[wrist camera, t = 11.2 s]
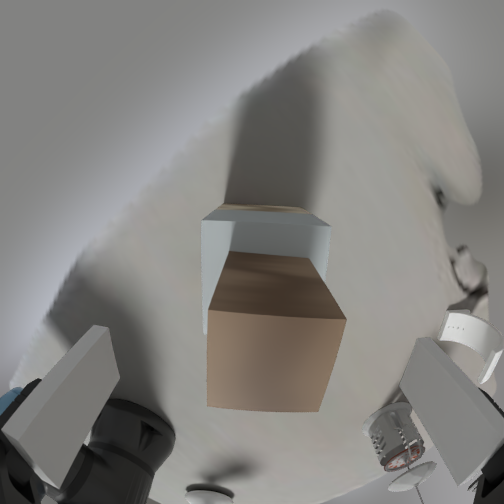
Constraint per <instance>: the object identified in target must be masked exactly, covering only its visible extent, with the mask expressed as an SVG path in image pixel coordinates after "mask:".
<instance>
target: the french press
mask: <svg viewBox="0 0 504 504" xmlns="http://www.w3.org/2000/svg"><path fill="white" fill-rule="evenodd" d="M411 412H412V410H411V405H410V404H408V403H407V402H397V403H393V404H389V405H387V406H385V407H383V408H381V409H379V410H378V411H376V412H375V413H374V414H372V415H371V416H370V417H369V418H368V419H367V420H366V421H365V423H364V425H363V428H362V432H363V434H364V435H366V436H368V437H371V439H372V443H373V444H374V448H375V449H377V450H376V454H380V455H379V456H378V459H379V462H380V464H381V465H382V466H384V469H385V471H388V472H392V471H397V470H400V469H402V468H404V467H408V471H406V472H405V473H403V474H402V475H400V476H399V477H397V478H396V479H395V480H394V481H392V483H391V484H390V485H389V487H388V490H389V491H405V490H408V489H411V488H414V487H416V489H417V491H418V494H419V497H420V499H421V502H422V504H424V503H423V500H422V498H421V495H420V493H419V490H418V488H417V486H418V485H419V484H421V483H422V482H424V481H425V480H426V479H427V478H428V477H429V476H430V475H431V474H432V472H433V471H434V469H435V468H436V465H437V464H436V463H435V462H433V461H431V462H426V463H423V464H420V465H418V466H416V467H414V468H412V469H409V465H411V464H412V463H414V462H415V461H416V460H418V459H419V458H421V456H422V455H423V453H424V451H425V447H423V443H424V441H423V439H422V437H421V436H420V434H419V432H418V430H417V428H415V427H416V426H415V424H414V422H413V421H412V419H411V417H410V414H411ZM412 422H413V423H412ZM414 426H415V427H414ZM402 429H403V431H402ZM400 431H401V432H402V433H401V434H399V432H400ZM417 432H418V433H417ZM402 435H403V436H404V438H403V439H402V438H401V436H402ZM405 435H406V436H405ZM375 439H376V440H377V441H375ZM407 439H408V440H407ZM415 439H417V442H415V443H414V444H412V445H411V446H409V443H410V442H412V441H413V440H415ZM419 439H421V440H419ZM404 440H406V443H405V444H404V445H403V443H404V442H403V441H404ZM379 441H380V442H379ZM377 445H380V446H379V447H378V446H377ZM406 446H408V448H407V449H406V450H405V447H406ZM379 450H382V452H379ZM384 456H385V457H384Z"/></svg>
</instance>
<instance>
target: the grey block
mask: <svg viewBox="0 0 504 504" xmlns="http://www.w3.org/2000/svg"><path fill="white" fill-rule="evenodd" d="M331 227H332V226H330V225H329V224H327V223H325V222H324V221H322V220H321V219H319V218H318V217H316V216H315V215H313V214H302V213H285V212H266V211H243V210H214V211H213V212H212V213H210V214H209V215H208V216H206V217H205V218H204V219H202V220H201V265H202V310H203V334H205V335H207V321H208V308H209V305H210V302H211V299H212V297H213V294H214V291H215V288H216V285H217V283H218V280H219V277H220V274H221V272H222V269H223V266H224V264H225V261H226V258H227V255H228V253H229V251H235V252H246V253H258V254H269V255H280V256H291V257H302V258H309V259H310V260H311V262H312V264H313V265H314V267H315V268H316V270H317V272H318V273H319V275H320V276H321V278H322V280H323V281H324V283H325V279H326V272H327V264H328V255H329V246H330V237H331Z"/></svg>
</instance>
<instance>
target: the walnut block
mask: <svg viewBox="0 0 504 504" xmlns="http://www.w3.org/2000/svg"><path fill="white" fill-rule="evenodd" d="M346 321H347V319H346V317H345V316H344V314H343V312H342V311H341V309H340V307H339V306H338V304H337V302H336V301H335V299H334V297H333V296H332V294H331V293H330V291H329V289H328V288H327V286H326V284H325V283H324V281H323V280H322V278H321V276H320V275H319V273H318V272H317V270H316V268H315V267H314V265H313V264H312V262H311V260H310V259H309V258H302V257H291V256H280V255H269V254H258V253H246V252H235V251H229V253H228V255H227V258H226V261H225V264H224V266H223V269H222V272H221V274H220V277H219V280H218V283H217V285H216V288H215V291H214V294H213V297H212V299H211V302H210V305H209V308H208V321H207V406H209V407H217V408H226V409H236V410H249V411H266V412H318V411H319V408H320V405H321V402H322V400H323V397H324V394H325V391H326V388H327V385H328V382H329V379H330V376H331V373H332V370H333V366H334V363H335V360H336V357H337V353H338V350H339V346H340V343H341V339H342V336H343V332H344V328H345V324H346Z"/></svg>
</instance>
